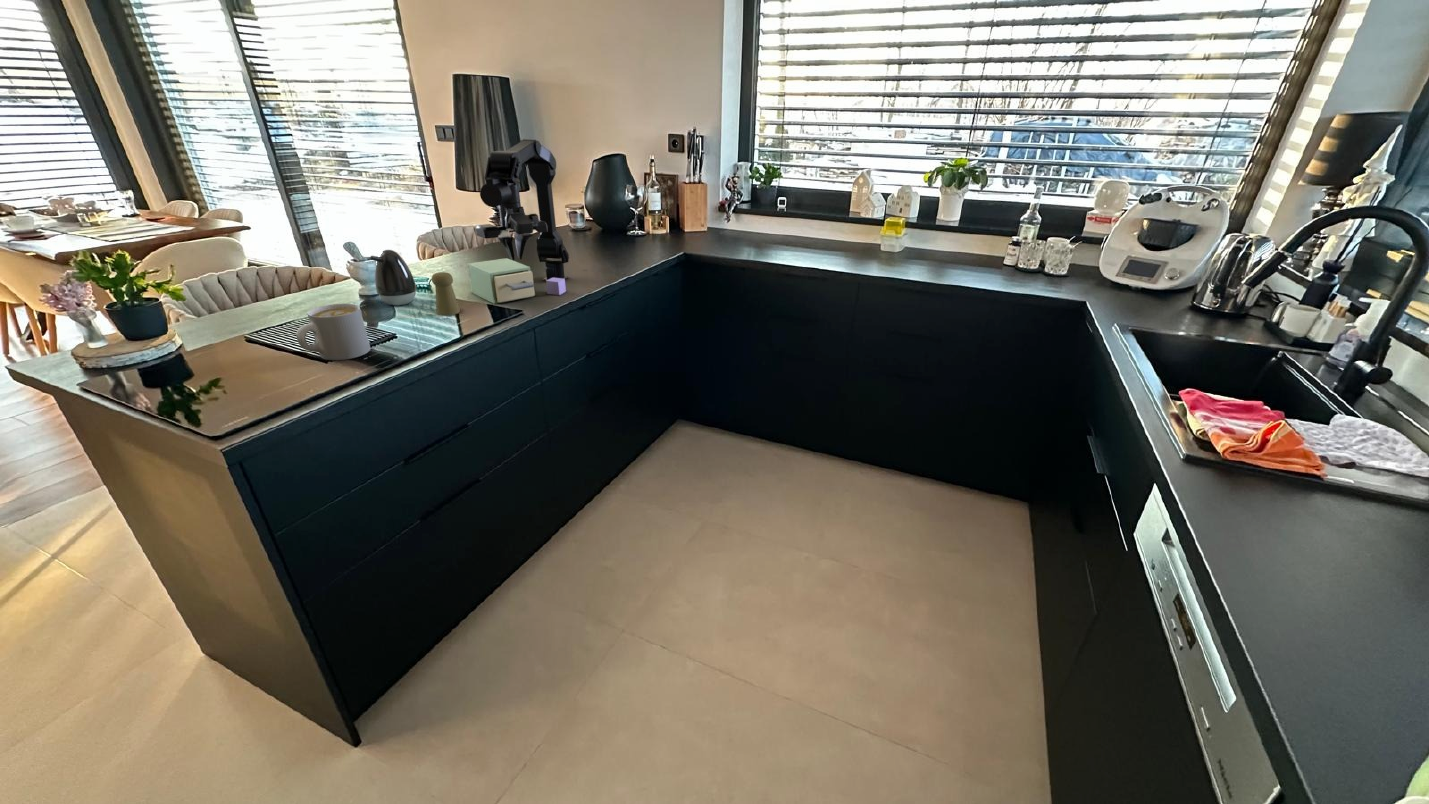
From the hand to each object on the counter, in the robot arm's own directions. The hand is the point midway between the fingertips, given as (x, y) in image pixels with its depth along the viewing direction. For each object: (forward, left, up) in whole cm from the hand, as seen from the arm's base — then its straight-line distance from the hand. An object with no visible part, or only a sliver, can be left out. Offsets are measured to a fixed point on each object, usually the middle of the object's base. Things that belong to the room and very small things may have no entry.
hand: (516, 259), depth 159 cm
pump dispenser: (+12, -32, -13) cm, 37 cm away
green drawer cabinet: (-6, -10, -13) cm, 18 cm away
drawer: (-3, -6, -12) cm, 14 cm away
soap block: (-14, +4, -13) cm, 19 cm away
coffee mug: (+48, -17, -13) cm, 53 cm away
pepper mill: (+14, -14, -13) cm, 24 cm away
